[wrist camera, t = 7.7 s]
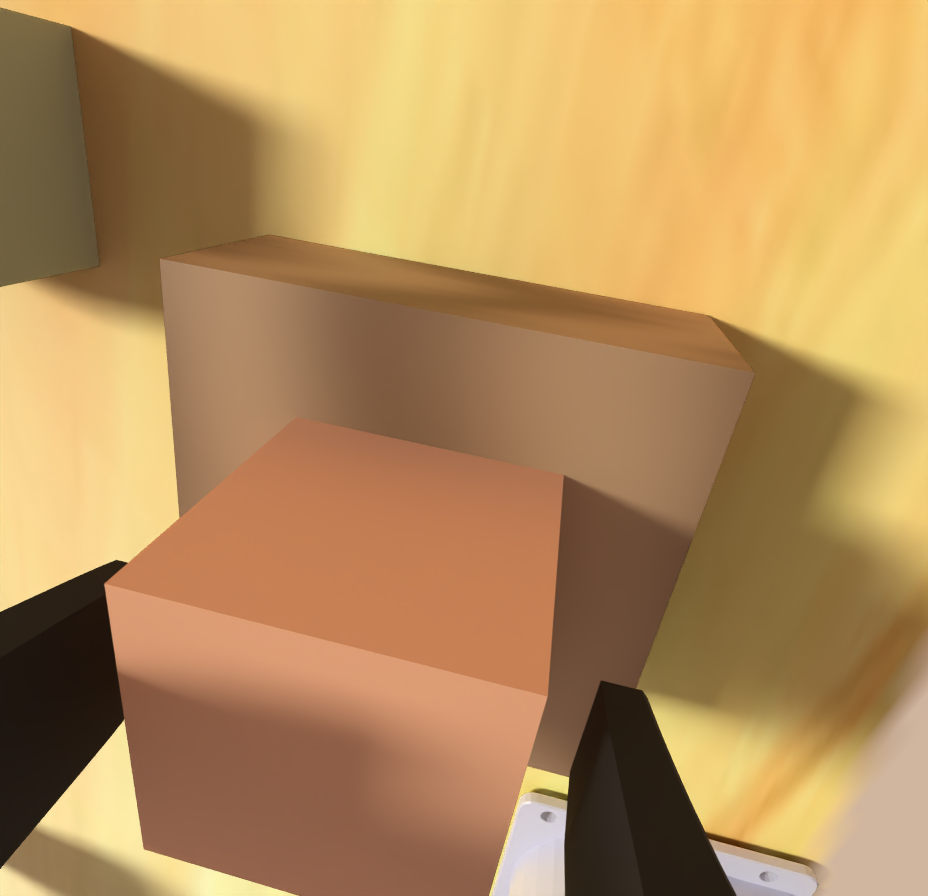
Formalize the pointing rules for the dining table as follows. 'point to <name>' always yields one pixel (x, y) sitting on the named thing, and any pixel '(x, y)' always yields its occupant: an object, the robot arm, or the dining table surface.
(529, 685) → the terracotta cube
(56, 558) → the dining table surface
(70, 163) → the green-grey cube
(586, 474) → the walnut block
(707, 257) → the dining table surface
